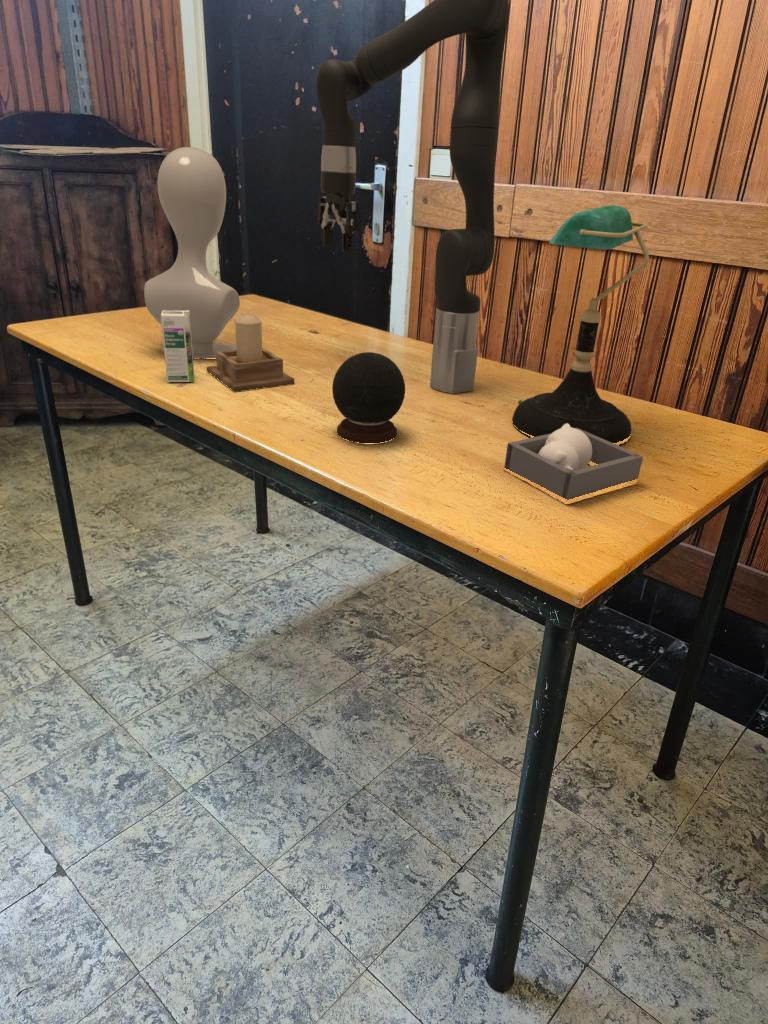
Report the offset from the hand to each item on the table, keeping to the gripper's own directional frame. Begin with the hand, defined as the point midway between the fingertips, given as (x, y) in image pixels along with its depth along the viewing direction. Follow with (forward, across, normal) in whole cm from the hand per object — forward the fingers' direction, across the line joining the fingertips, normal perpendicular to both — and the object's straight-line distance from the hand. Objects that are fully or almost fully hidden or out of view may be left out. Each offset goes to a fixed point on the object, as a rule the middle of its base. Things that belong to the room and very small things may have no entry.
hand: (337, 248), depth 159 cm
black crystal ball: (+26, -44, +18) cm, 54 cm away
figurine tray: (+26, -76, -2) cm, 80 cm away
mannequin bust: (+26, +21, +26) cm, 43 cm away
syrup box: (+26, +1, +38) cm, 46 cm away
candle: (+22, -4, +24) cm, 33 cm away
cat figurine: (+26, -74, -1) cm, 79 cm away
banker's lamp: (+26, -59, -20) cm, 68 cm away
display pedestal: (+26, -4, +24) cm, 36 cm away
